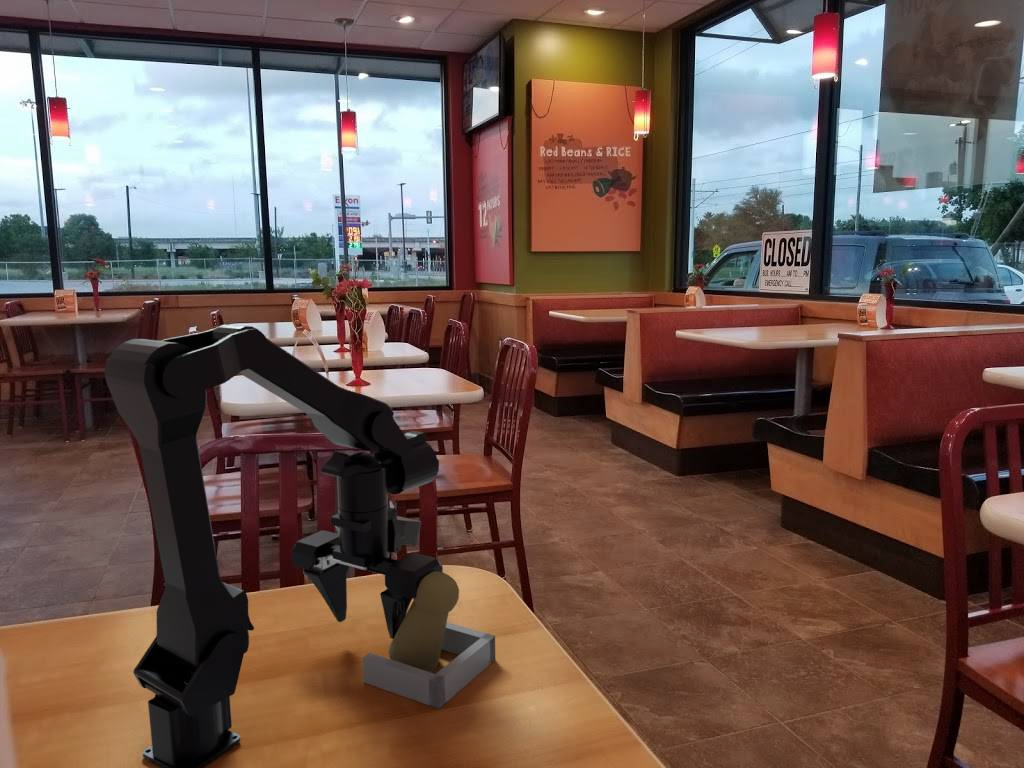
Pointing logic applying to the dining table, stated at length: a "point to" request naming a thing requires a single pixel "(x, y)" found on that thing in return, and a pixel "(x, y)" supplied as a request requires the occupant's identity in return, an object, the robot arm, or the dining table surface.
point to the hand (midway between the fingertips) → (367, 628)
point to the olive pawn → (425, 623)
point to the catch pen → (444, 684)
